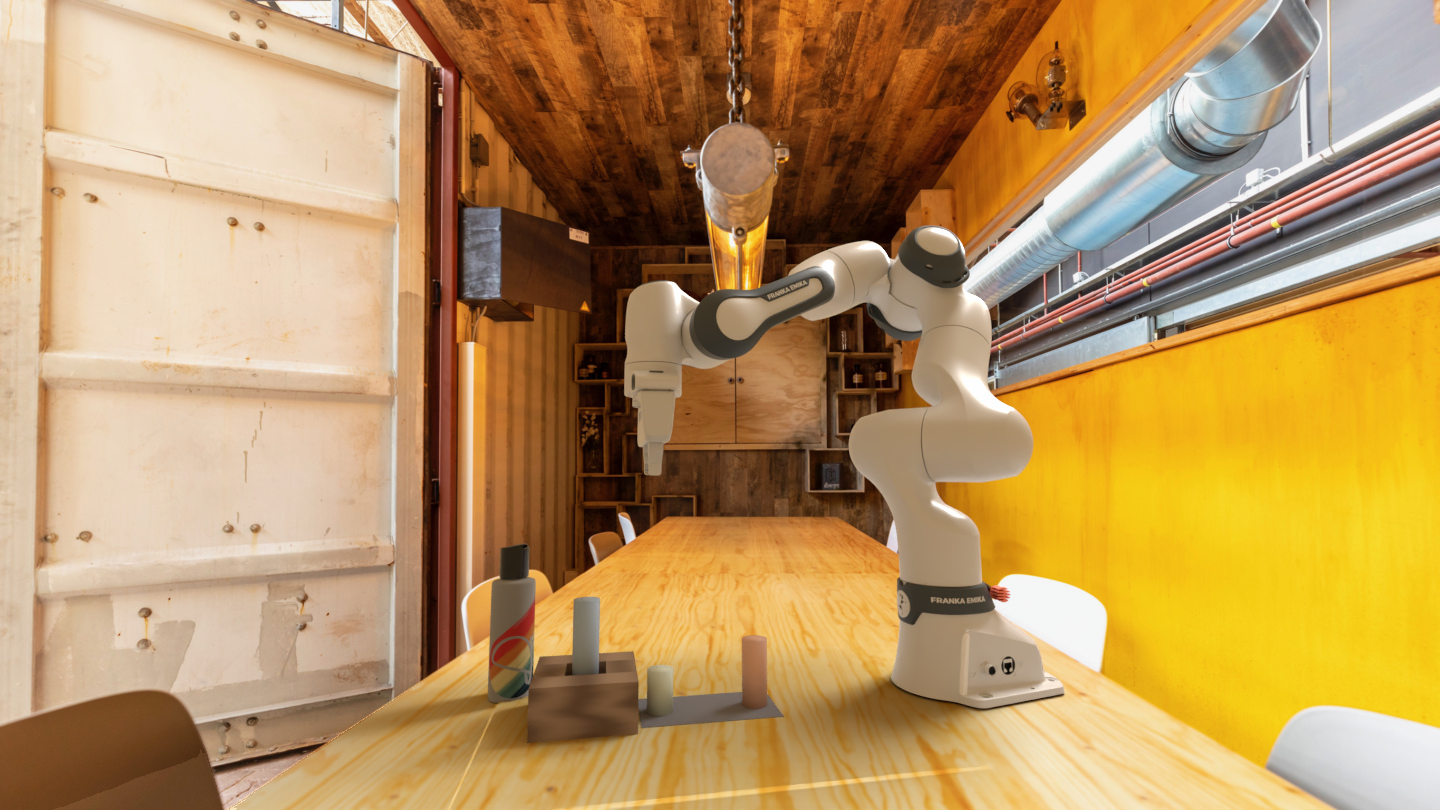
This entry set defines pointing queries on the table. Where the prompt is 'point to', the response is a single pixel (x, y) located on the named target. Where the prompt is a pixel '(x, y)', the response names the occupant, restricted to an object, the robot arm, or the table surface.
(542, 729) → the socket block
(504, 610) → the lotion bottle
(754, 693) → the pin medium
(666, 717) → the mat
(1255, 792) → the table surface
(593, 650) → the pin long
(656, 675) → the pin short
